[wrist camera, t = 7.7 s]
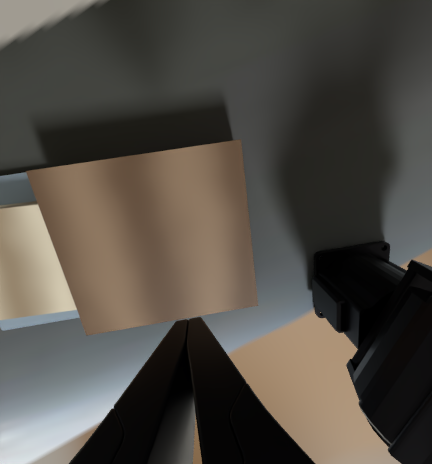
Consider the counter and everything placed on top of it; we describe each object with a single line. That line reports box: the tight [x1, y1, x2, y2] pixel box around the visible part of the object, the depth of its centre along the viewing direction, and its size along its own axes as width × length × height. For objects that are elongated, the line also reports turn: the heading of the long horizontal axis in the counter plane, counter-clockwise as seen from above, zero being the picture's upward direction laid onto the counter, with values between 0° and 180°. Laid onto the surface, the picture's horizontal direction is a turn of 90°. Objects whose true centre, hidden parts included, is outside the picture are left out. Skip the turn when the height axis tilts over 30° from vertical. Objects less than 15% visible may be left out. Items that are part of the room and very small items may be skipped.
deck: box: [26, 139, 258, 335], centre depth 18 cm, size 13×12×3 cm
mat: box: [0, 172, 80, 331], centre depth 19 cm, size 8×12×1 cm, turn 8°
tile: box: [0, 201, 77, 320], centre depth 18 cm, size 6×8×2 cm
